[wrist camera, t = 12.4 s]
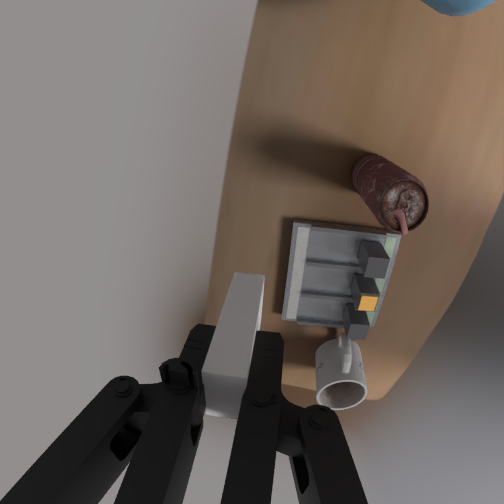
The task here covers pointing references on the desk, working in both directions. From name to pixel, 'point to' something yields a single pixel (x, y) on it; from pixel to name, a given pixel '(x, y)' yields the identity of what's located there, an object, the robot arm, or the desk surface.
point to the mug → (339, 374)
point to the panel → (329, 270)
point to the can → (390, 193)
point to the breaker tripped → (364, 293)
